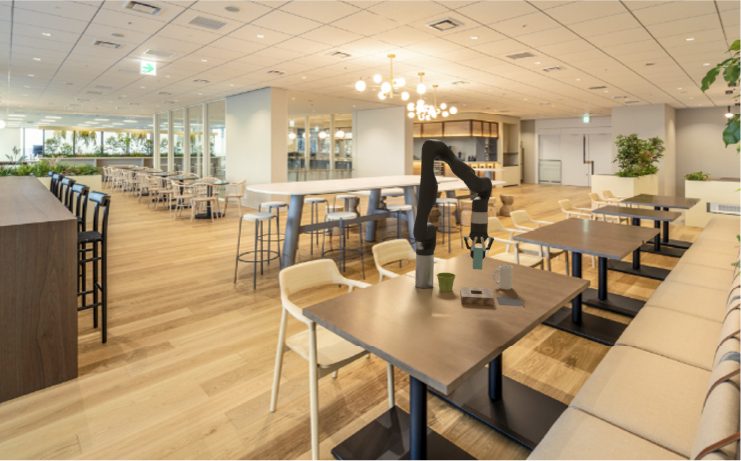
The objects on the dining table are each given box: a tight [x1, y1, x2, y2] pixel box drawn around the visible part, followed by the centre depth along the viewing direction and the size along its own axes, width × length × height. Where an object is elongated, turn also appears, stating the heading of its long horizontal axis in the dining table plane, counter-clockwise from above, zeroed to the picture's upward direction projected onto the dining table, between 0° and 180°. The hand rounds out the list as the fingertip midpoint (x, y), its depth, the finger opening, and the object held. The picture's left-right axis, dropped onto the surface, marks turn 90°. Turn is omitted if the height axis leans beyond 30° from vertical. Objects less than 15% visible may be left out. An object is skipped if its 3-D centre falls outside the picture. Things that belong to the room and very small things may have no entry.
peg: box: [472, 245, 484, 270], centre depth 183 cm, size 4×4×10 cm
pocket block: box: [459, 286, 495, 307], centre depth 186 cm, size 14×14×4 cm
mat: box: [495, 296, 525, 309], centre depth 184 cm, size 11×11×1 cm
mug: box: [492, 264, 514, 290], centre depth 202 cm, size 10×7×12 cm, turn 96°
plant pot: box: [436, 272, 456, 293], centre depth 200 cm, size 9×9×9 cm
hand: (477, 258), depth 183 cm, fingers closed on peg, 4 cm apart
